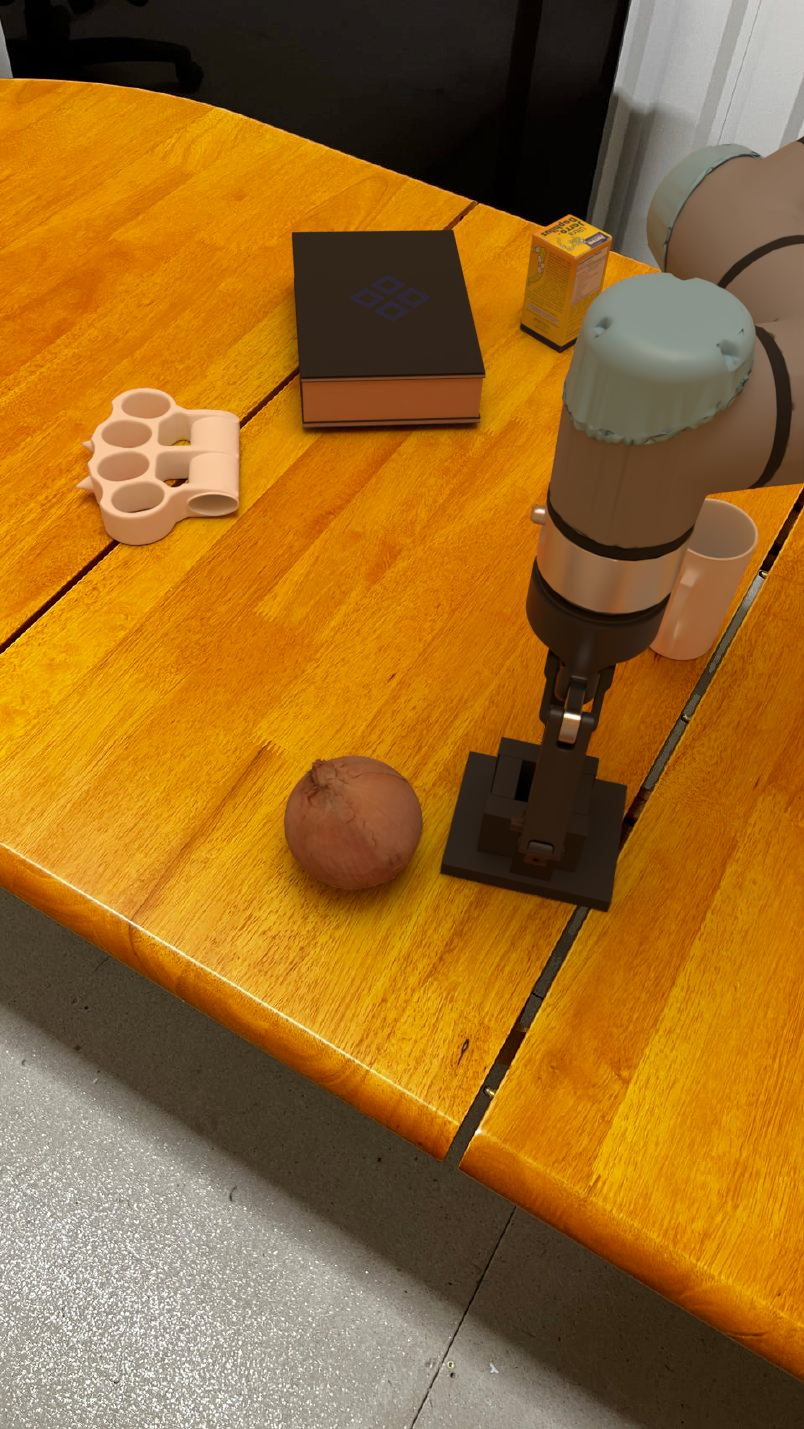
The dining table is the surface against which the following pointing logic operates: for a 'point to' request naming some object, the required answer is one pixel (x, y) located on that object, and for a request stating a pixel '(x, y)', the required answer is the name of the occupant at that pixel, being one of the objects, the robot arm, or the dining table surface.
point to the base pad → (466, 862)
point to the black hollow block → (516, 782)
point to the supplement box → (563, 280)
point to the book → (384, 330)
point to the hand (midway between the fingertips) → (546, 788)
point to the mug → (706, 580)
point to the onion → (353, 822)
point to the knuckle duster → (161, 465)
